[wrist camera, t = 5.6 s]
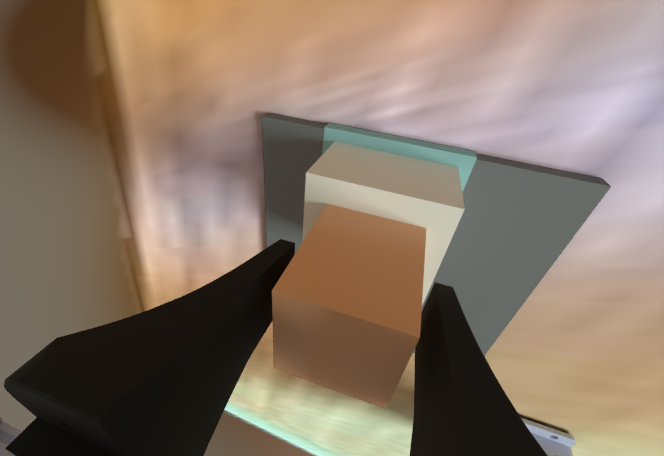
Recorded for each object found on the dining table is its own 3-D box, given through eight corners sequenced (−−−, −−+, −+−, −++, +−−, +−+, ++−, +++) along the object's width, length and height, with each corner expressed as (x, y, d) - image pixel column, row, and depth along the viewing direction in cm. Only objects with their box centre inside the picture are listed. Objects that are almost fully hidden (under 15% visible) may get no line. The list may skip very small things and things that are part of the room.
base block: (458, 167, 13) (464, 209, 10) (421, 262, 17) (417, 315, 14) (335, 141, 15) (306, 172, 11) (324, 236, 18) (300, 279, 15)
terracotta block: (426, 228, 11) (420, 337, 7) (401, 297, 13) (385, 408, 10) (327, 203, 12) (271, 290, 8) (319, 273, 14) (273, 367, 10)
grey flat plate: (603, 176, 13) (612, 184, 12) (471, 361, 22) (472, 372, 21) (269, 110, 16) (261, 114, 15) (273, 298, 24) (268, 305, 24)
